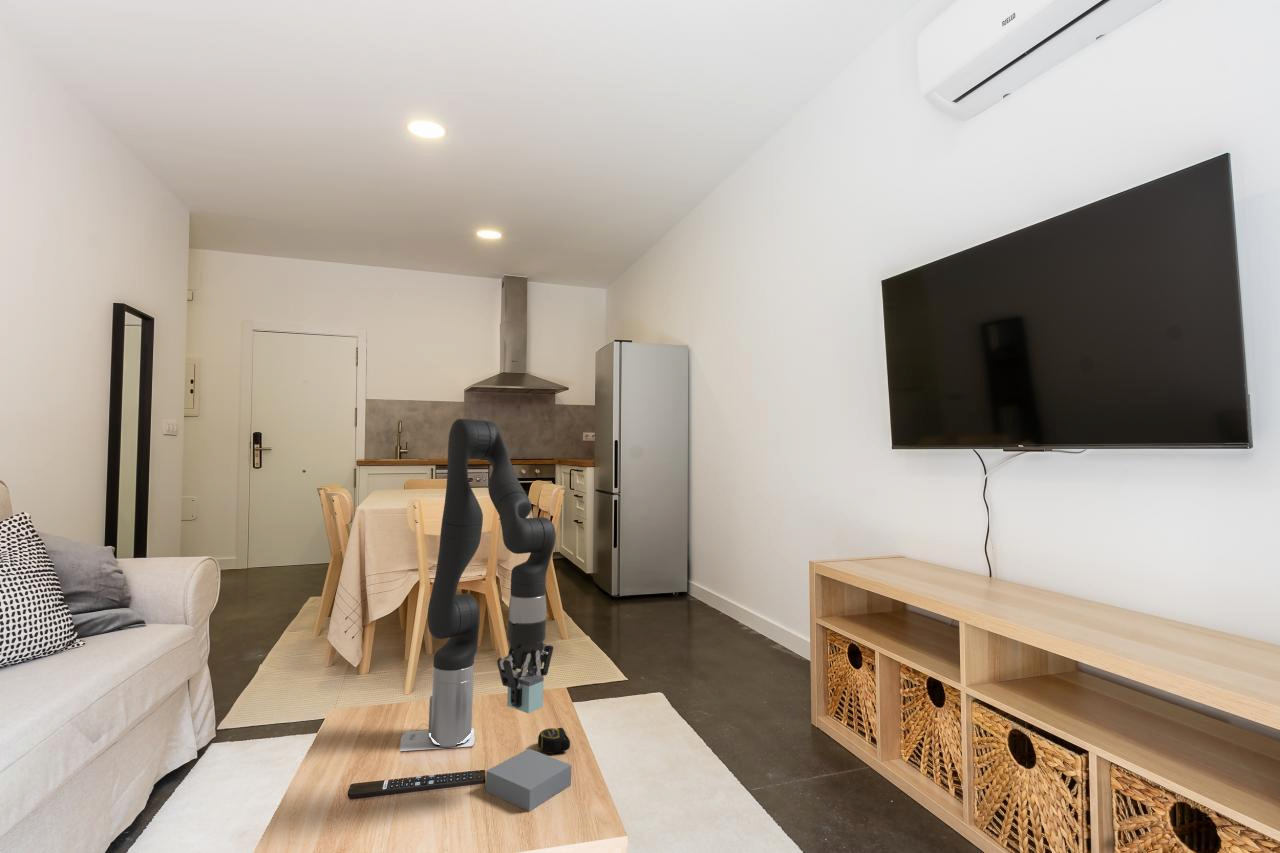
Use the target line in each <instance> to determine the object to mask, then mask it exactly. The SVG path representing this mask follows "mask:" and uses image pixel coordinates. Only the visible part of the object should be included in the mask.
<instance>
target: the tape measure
mask: <svg viewBox="0 0 1280 853" xmlns="http://www.w3.org/2000/svg"><path fill="white" fill-rule="evenodd" d="M570 741H571V740H570V738H569V737H568V735H567V733H566V731H565V730H564V728H563V727H558V728H554V727H552V728H551V727H550V728H545V729H543V730H541V731H540V733H539V734H538V737H537V746H538V749H540V751H542V752H543V753H547V754H557V753H562V752H565V751H567V750H570V747H571V742H570Z"/></svg>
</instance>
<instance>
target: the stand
mask: <svg viewBox="0 0 1280 853" xmlns="http://www.w3.org/2000/svg"><path fill="white" fill-rule="evenodd" d="M485 772H486V773H485V774H486V775H485V792H486V793H489V794H491V795H493V796H495V797H497V798H499V799H501V800H503V801H506V802H508V803H510V804H512V805H514V806H516V807H519V808H521V809H523V810H525V811H527V812H531V811H533V810H535V809H536V808H537V807H539V806H540V805H542V804H544V803H545V802H547V801H548V800H550V799H552V798H553V797H555V796H556V795H558V794H559V793H561V792H562V791H564V790H565V789H567V788H569V787H570V786H571V785H572V764H570V763H567V762H565V761H562V760H559V759H557V758H554V757H552V756H550V755H547V754H544V753H541V752H540V751H536V750H534V749H532V748H527V749H525V750H523V751H522V752H519V753H517V754H516V755H514V756H512V757H510V758H508V759H506V760H504V761H502V762H500V763H499V764H497V765H495V766H493V767H491V768H488V769H487V770H486V771H485Z"/></svg>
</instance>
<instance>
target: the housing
mask: <svg viewBox="0 0 1280 853" xmlns="http://www.w3.org/2000/svg"><path fill="white" fill-rule="evenodd" d="M517 679H518V676H517V677H516V681H517ZM544 679H545V678H544V676H539V675H535V674H532V673H528V671H527V673H526V676H525V677H524V678H523V683H522V687H521V688H522V706H521V707H519V708H517V707H514V706H512V704H511V688H510V687H507V697H506V700H507V703H506V704H507V705H506V706H507V707H510V708H512V709H515V710H517V711H520V712H523V713H526V714H530V713H533V712H535V711H538V710H540V709H541V708H543V707H544V681H545V680H544Z"/></svg>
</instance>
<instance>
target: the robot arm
mask: <svg viewBox="0 0 1280 853" xmlns="http://www.w3.org/2000/svg"><path fill="white" fill-rule="evenodd" d="M470 459H471V460H486V461H487V462H489V464H490V465H491V467H492V471H491V474H490V477H489V479H488V488H487V489H488V495H489V498H490V500H491V502H492V504H493V506H494V508H495V510H496V512H497V514H498V517H499V520H500V526H501V532H502V540H503V545H504V547H506V550H508V551H510V552H511V553H513V554H517V555H519V554H520V555H521V554H529V556H528V558H527V560H526V561H525V562H524V561H523V562H522V563H520V564H518V565H514V566H513V568H512V569H511V573H510V597H509V602H508V623H507V625H508V628H507V640H508V642H509V645H510V646H509V649H508V654H507V655H506V656H505V657H504V658H498V659H497V661H496V664H497V666H498V667H497V668H498V671H499V675H500V679H501V680H500V681H501V683H502V686H503V687H507V688H508V687H510V688H511V704H512V706H514V707H517V708H519V707H521V706H522V688H521V687H522V683H523V678H524V677H525V676H526V673H527V672H528V673H532V674H535V675H539V676H542V677H544V676H547V675H548V672H549V668H550V664H551V660H552V656H553V651H554V646H553V645H550V644H545V643H544V641H545V640H546V634H547V633H546V629H547V628H546V627H547V597H546V586H547V583H546V582H547V572H548V567H549V566H550V562H551V557H552V554H553V550H554V548H555V544H556V534H557V533H556V528H555V525H554V523H553V522H552V521H551V519H549V518H548V517H544V516H541V517H537V516H536V517H528V516H529V515H530V514H531V512H532V503H531V500H530V498H529V497H528V495H527V493H526V491H525V489H524V488H523V486H522V484H521V483H520V481H519V479H518V477H517V475H516V473H515V471H514V467H513V465H512V461H511V458H510V454H509V451H508V448H507V445H506V443H505V440H504V437H503V435H502V432H501V430H500V428H499V426H498V425H497V424H496V423H495V422H493V421H489V420H483V419H470V418H457V419H456V420H454V422H453V423H452V424H451V427H450V430H449V434H448V444H447V468H446V469H447V471H446V474H447V475H446V487H445V488H446V490H445V498H444V499H445V500H444V505H443V506H444V507H443V512H442V518H441V528H440V534H439V536H440V537H439V548H438V556H437V563H436V570H435V576H434V579H433V585H432V589H431V594H430V598H429V603H428V607H427V608H428V609H427V626H428V630H429V633H430V634H431V636H432V637H433V638H434V639H438V640H442V639H448V640H447V642H446V643H445V644H444V645H443V646H441V647H440V648H439V649H438V650H436V652H434V655H433V666H432V669H433V670H432V672H433V673H432V694H431V695H430V697H429V706H428V707H429V708H428V729H427V730H428V732H429V733H431V737H432V738H433V739H434V740H435V741H436V742H437V743H439V744H440V746H439V747H441V748H442V747H443V748H445V747H446V748H448V747H449V748H450V747H456V745H457V743H460V742H461V741H463V740H464V739H465V738H466V737H467V736H468V735H469V734H470V733H471V730H472V729H473V728H472V727H473V707H474V706H473V705H474V704H473V699H474V670H475V667H474V666H475V657H476V654H477V651H478V647H479V646H478V645H479V634H480V633H479V632H480V622H481V619H480V618H481V612H480V607H479V602H478V601H477V598H476V597H475V596H474V595H473V594H471V593H460V594H457V590H458V586H459V582H460V581H461V580H460V579H461V578H462V576H463V573H464V572H465V570H466V569H467V567H468V565H469V563H470V562H471V561H472V559H473V558H474V556H475V554H476V553H477V551H478V549H479V547H480V543H481V539H482V531H483V523H484V514H483V511H482V508H481V506H480V503H479V501H478V499H477V497H476V495H475V493H474V491H473V489H472V487H471V485H470V481H469V477H468V476H469V475H468V474H469V470H468V467H469V466H468V465H469V464H468V463H469V460H470ZM517 676H518V679H517V681H516V677H517ZM457 746H458V745H457Z"/></svg>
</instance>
